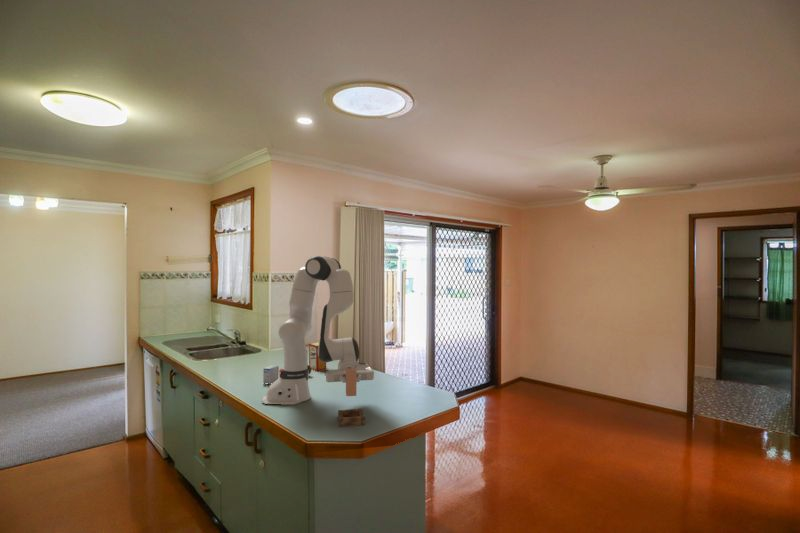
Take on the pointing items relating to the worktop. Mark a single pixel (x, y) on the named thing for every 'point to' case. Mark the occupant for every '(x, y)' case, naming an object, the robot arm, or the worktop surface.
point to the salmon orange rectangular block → (350, 382)
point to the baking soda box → (315, 358)
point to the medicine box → (270, 374)
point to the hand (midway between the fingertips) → (351, 380)
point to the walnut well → (351, 417)
